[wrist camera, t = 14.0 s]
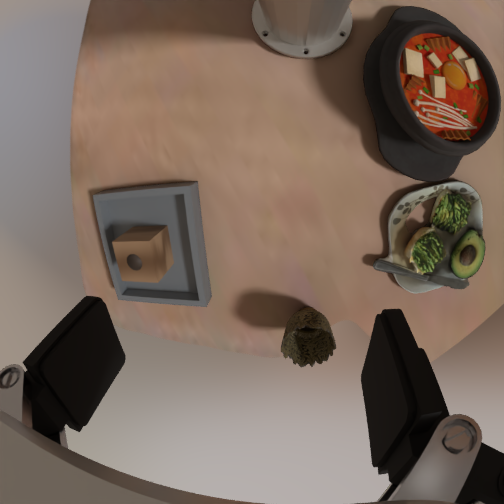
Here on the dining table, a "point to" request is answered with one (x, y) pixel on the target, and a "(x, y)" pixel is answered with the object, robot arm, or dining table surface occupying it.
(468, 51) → the casserole
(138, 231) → the walnut block
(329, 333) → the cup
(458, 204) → the salad plate
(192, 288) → the tray
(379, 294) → the dining table surface
